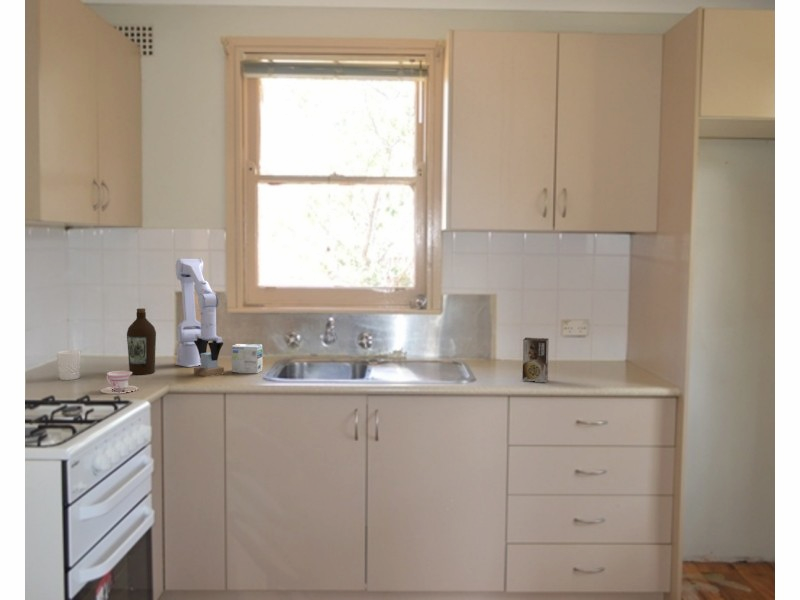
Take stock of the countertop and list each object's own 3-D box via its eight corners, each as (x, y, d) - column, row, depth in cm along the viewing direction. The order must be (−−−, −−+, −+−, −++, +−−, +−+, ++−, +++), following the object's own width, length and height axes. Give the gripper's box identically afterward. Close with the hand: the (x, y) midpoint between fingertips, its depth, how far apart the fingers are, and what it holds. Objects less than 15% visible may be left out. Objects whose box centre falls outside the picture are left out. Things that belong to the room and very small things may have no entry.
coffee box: (548, 380, 268) (549, 338, 267) (545, 383, 262) (547, 340, 261) (524, 378, 271) (525, 336, 270) (521, 381, 265) (522, 339, 264)
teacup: (144, 388, 246) (144, 370, 246) (125, 395, 234) (125, 377, 234) (113, 386, 248) (113, 369, 248) (93, 393, 237) (92, 375, 236)
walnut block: (194, 375, 272) (193, 367, 271) (211, 372, 278) (211, 364, 278) (206, 378, 267) (206, 370, 266) (223, 374, 273) (223, 367, 273)
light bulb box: (263, 370, 280) (262, 344, 280) (257, 373, 274) (257, 346, 273) (237, 369, 282) (236, 343, 281) (231, 373, 275) (231, 345, 274)
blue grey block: (200, 367, 272) (200, 353, 271) (210, 366, 275) (210, 352, 275) (207, 369, 269) (207, 354, 268) (217, 367, 272) (217, 353, 272)
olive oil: (135, 369, 279) (133, 307, 277) (161, 370, 278) (159, 307, 276) (122, 374, 268) (121, 309, 266) (149, 375, 268) (148, 310, 266)
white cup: (76, 375, 266) (75, 349, 265) (84, 378, 261) (83, 351, 260) (54, 378, 261) (53, 351, 260) (62, 381, 255) (61, 354, 254)
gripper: (188, 323, 272) (188, 358, 273) (210, 326, 263) (211, 362, 264) (204, 322, 277) (204, 356, 279) (226, 325, 268) (226, 360, 269)
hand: (208, 359), depth 272 cm, fingers open, 7 cm apart
